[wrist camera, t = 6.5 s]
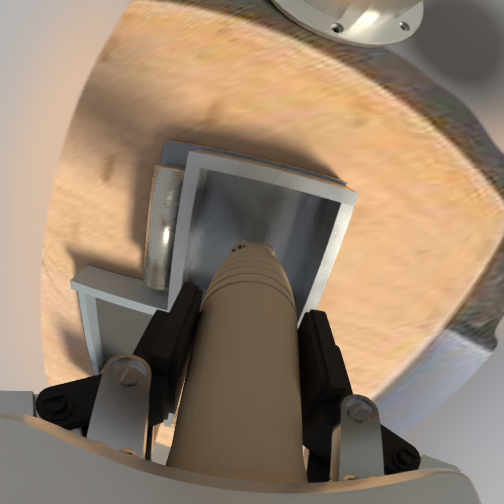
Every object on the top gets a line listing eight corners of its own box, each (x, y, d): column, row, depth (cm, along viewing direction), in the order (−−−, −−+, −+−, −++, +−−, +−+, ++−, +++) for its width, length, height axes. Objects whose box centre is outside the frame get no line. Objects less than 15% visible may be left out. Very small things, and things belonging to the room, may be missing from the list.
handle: (185, 251, 16) (50, 514, 2) (284, 201, 15) (373, 567, 1) (225, 312, 18) (181, 559, 4) (318, 273, 16) (394, 548, 3)
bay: (87, 264, 22) (70, 280, 19) (184, 291, 22) (174, 312, 19) (107, 393, 29) (99, 409, 27) (173, 415, 30) (168, 433, 27)
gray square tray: (171, 139, 17) (149, 141, 14) (340, 179, 18) (359, 190, 14) (154, 277, 22) (135, 304, 18) (296, 309, 22) (301, 341, 19)
